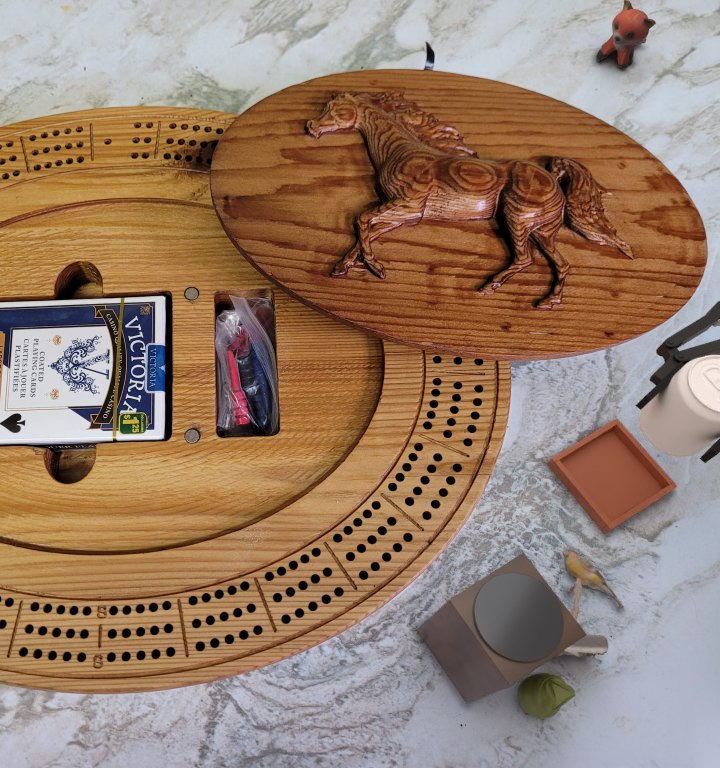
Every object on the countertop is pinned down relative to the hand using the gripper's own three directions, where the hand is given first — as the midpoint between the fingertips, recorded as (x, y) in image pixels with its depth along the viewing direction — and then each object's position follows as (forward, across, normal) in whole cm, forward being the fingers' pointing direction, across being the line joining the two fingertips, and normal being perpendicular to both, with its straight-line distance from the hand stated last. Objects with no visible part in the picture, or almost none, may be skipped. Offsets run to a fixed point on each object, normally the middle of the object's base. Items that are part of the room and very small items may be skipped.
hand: (675, 429), depth 92 cm
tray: (-8, 0, -31) cm, 32 cm away
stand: (+25, -3, -32) cm, 40 cm away
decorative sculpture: (+11, -10, -32) cm, 35 cm away
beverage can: (-5, 0, -7) cm, 9 cm away
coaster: (+25, -3, -12) cm, 28 cm away
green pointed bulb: (+24, -13, -32) cm, 42 cm away
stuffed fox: (-79, +53, -31) cm, 100 cm away
